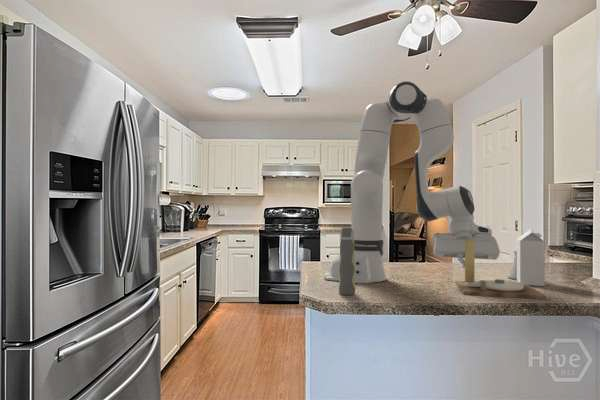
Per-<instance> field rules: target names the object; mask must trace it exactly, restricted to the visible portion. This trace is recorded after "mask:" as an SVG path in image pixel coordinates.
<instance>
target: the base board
mask: <svg viewBox="0 0 600 400" xmlns="http://www.w3.org/2000/svg"><path fill="white" fill-rule="evenodd" d="M454 284H455V285H456V287H457V288H458V289H459V291H460V292H461V293H462V295H467V296H479V297H480V296H482V297H484V296H485V297H500V298H514V299H515V298H517V299H531V300H532V299H533V300H547V295H546V294H544V293H542V292H540V291H538V289H535V288H533V287H532V285H527V284H524V290H521V291H498V290H491V289H486V281H484V280H480V287H471V286H466V285H465V280H454Z"/></svg>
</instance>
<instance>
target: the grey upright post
mask: <svg viewBox="0 0 600 400" xmlns="http://www.w3.org/2000/svg"><path fill="white" fill-rule="evenodd" d="M339 254H340V269H339V271H340V279H339V281H338V282H339V284H338V285H339V287H338V293H339V294H340V295H342V296H353V295H355V294H356V284H355V266H354V230H353V229H352V228H351V227H350V226H342V228H341V229H340V233H339Z"/></svg>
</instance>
